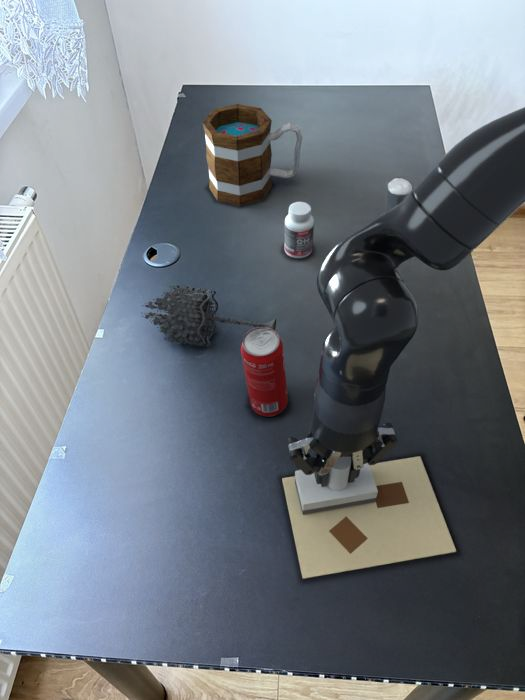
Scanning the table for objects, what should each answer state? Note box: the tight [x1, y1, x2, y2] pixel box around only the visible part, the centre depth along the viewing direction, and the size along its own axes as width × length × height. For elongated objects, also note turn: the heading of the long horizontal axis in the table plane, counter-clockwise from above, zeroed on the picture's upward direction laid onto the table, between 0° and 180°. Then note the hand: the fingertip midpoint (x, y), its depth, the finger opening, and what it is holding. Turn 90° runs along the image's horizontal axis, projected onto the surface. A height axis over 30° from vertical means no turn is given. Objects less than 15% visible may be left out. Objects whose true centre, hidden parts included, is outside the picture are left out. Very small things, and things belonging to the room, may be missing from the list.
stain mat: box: [281, 455, 457, 580], centre depth 80 cm, size 20×14×1 cm
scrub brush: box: [294, 457, 378, 515], centre depth 78 cm, size 10×5×8 cm, turn 100°
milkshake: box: [384, 177, 413, 212], centre depth 115 cm, size 4×5×10 cm
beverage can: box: [240, 326, 289, 417], centre depth 86 cm, size 6×6×15 cm
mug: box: [201, 103, 303, 207], centre depth 122 cm, size 20×14×15 cm
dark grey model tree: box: [140, 284, 277, 347], centre depth 97 cm, size 9×22×9 cm, turn 79°
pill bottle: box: [283, 201, 315, 259], centre depth 110 cm, size 5×5×10 cm
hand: (336, 478), depth 79 cm, fingers closed on scrub brush, 3 cm apart
